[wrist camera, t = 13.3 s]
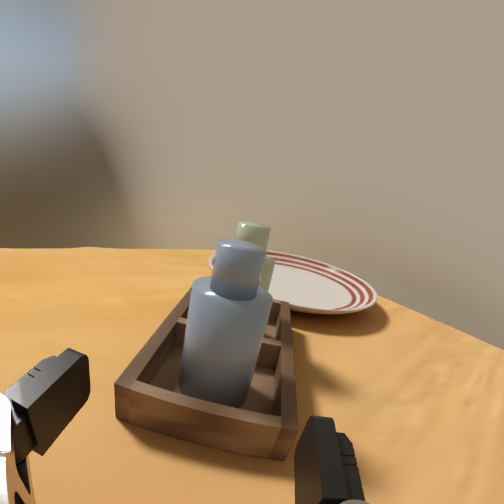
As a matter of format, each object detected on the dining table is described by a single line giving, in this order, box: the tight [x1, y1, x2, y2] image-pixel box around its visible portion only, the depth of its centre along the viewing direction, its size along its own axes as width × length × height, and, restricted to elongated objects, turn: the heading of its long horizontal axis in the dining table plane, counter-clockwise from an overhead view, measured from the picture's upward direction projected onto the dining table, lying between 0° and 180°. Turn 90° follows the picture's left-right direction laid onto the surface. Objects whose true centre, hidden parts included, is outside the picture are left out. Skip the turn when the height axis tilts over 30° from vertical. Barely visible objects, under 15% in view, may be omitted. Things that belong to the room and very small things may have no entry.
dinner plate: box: [209, 251, 377, 314], centre depth 51 cm, size 27×27×3 cm
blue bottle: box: [178, 239, 273, 408], centre depth 21 cm, size 5×5×11 cm
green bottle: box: [235, 221, 275, 292], centre depth 31 cm, size 5×5×11 cm
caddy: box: [114, 287, 298, 461], centre depth 27 cm, size 11×21×3 cm, turn 175°
